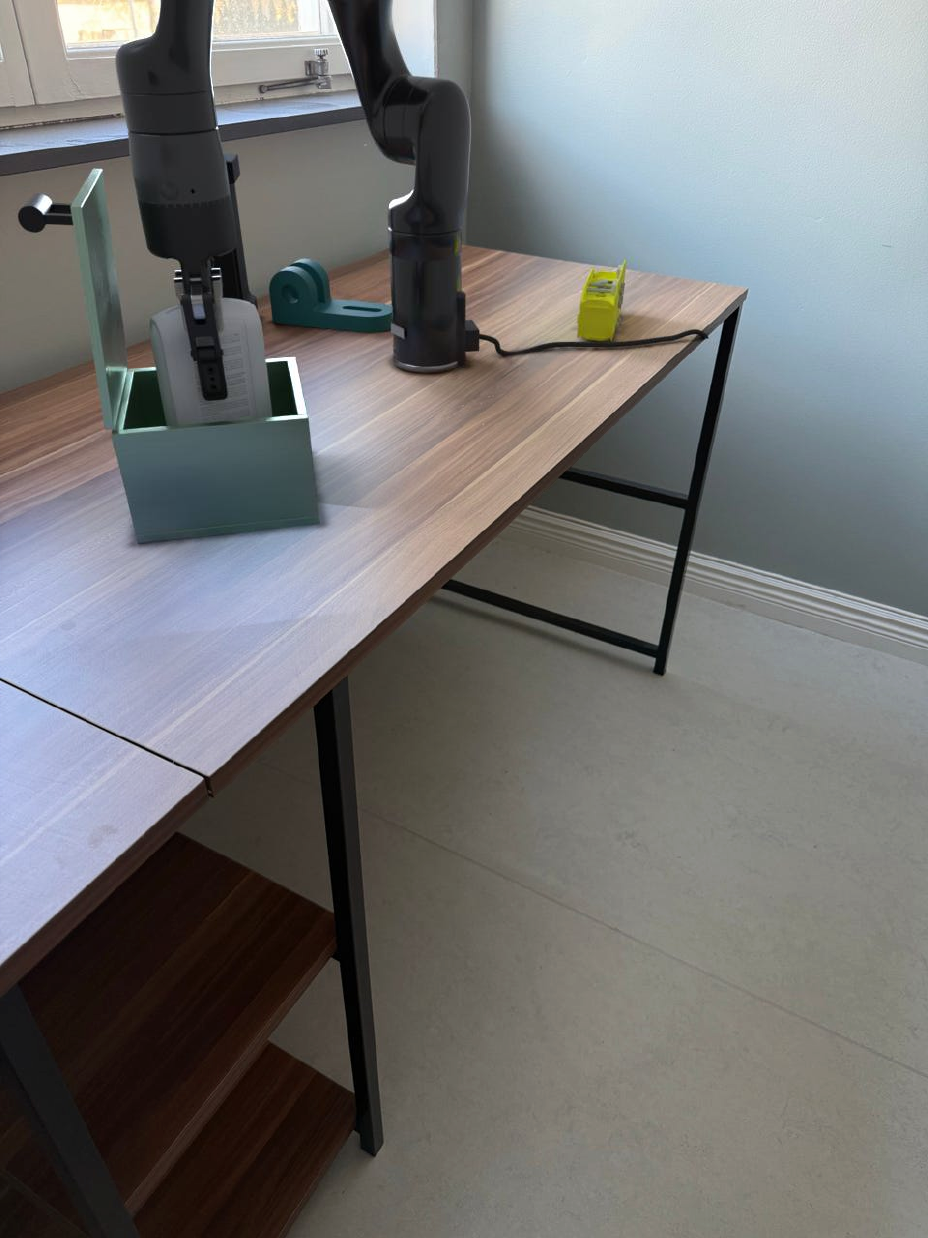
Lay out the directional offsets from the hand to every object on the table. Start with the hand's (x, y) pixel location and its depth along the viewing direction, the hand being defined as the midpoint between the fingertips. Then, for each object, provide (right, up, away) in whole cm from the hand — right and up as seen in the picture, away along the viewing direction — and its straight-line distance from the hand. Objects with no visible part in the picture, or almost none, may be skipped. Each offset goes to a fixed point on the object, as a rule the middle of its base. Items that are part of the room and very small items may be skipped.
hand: (216, 385), depth 83 cm
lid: (-7, +6, -7) cm, 12 cm away
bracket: (+4, +23, +51) cm, 56 cm away
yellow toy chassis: (+44, +22, +50) cm, 70 cm away
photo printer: (0, -4, +3) cm, 5 cm away
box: (0, -9, +7) cm, 11 cm away
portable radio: (-11, +23, +50) cm, 56 cm away
